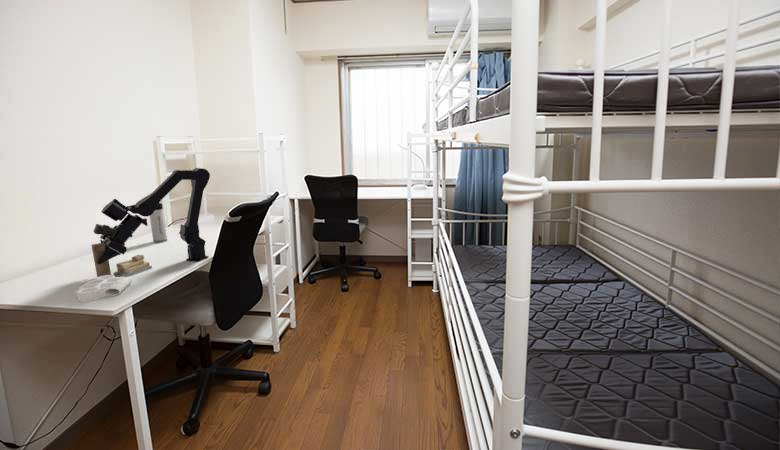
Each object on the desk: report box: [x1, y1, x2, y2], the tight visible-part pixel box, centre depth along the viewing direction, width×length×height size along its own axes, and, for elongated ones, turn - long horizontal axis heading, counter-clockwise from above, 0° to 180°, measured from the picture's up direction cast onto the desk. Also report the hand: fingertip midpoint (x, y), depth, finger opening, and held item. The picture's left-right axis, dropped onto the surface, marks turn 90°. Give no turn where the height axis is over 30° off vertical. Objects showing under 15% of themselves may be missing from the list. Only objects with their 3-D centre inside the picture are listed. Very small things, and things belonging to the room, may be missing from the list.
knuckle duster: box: [74, 274, 133, 303], centre depth 142 cm, size 3×18×15 cm
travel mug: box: [149, 202, 168, 244], centre depth 208 cm, size 6×7×20 cm
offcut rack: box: [112, 254, 153, 277], centre depth 162 cm, size 7×11×6 cm, turn 161°
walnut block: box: [91, 242, 112, 278], centre depth 155 cm, size 4×4×13 cm
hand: (97, 261), depth 154 cm, fingers open, 6 cm apart
